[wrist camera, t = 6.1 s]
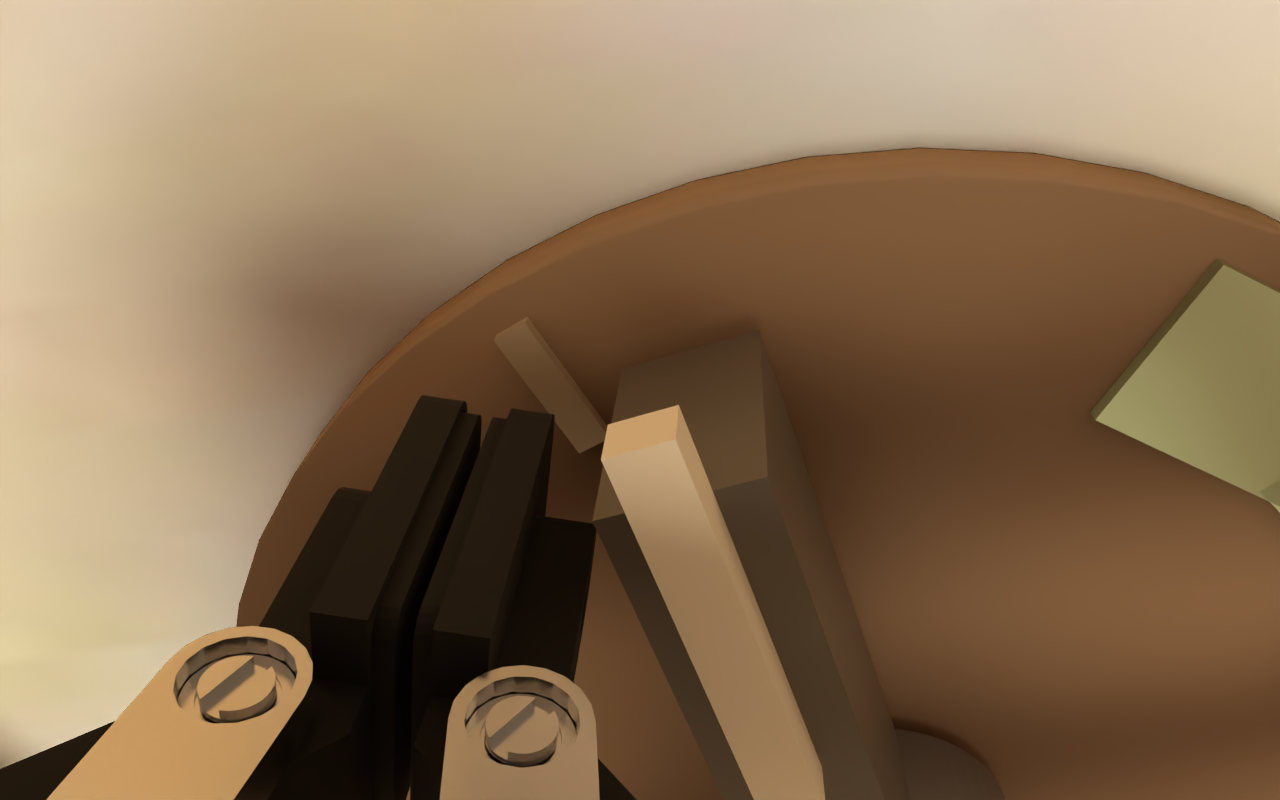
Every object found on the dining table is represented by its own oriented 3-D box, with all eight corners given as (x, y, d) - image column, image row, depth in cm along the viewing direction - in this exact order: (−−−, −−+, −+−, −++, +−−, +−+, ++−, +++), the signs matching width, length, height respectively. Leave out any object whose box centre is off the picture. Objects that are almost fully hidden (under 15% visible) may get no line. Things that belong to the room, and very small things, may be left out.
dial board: (1657, 924, 19) (1721, 1000, 18) (663, 1150, 26) (660, 1215, 25) (1349, -241, 11) (1429, -247, 9) (1, 560, 18) (-52, 614, 16)
